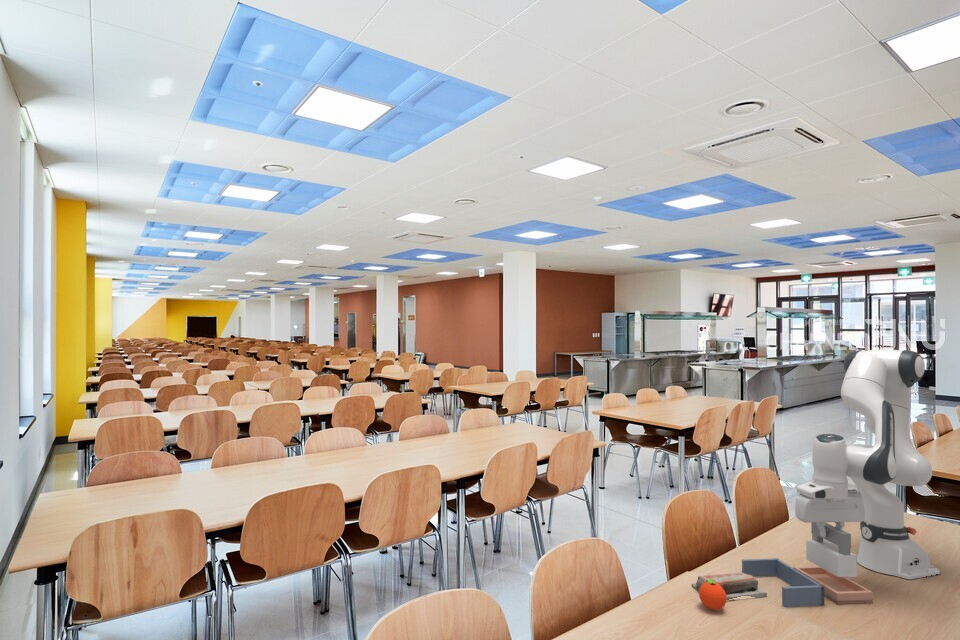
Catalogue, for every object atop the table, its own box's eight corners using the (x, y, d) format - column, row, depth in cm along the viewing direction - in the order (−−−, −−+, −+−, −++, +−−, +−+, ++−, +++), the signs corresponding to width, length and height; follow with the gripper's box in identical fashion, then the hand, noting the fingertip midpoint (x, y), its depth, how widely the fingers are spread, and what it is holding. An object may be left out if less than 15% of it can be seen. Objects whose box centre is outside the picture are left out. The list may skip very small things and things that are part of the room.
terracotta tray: (825, 575, 162) (825, 565, 162) (873, 602, 145) (872, 592, 145) (793, 576, 160) (793, 567, 161) (837, 604, 144) (837, 593, 144)
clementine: (693, 599, 145) (693, 574, 145) (718, 600, 145) (718, 574, 145) (705, 614, 137) (705, 587, 137) (731, 615, 137) (731, 588, 137)
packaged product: (713, 587, 144) (691, 571, 153) (713, 604, 143) (691, 588, 153) (767, 581, 148) (742, 566, 157) (767, 598, 147) (742, 582, 157)
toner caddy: (824, 558, 159) (823, 519, 160) (856, 576, 147) (856, 533, 148) (806, 559, 158) (806, 519, 159) (837, 576, 146) (837, 534, 147)
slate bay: (777, 574, 162) (777, 558, 162) (824, 605, 143) (824, 586, 143) (742, 575, 161) (741, 559, 161) (784, 607, 142) (784, 588, 142)
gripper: (852, 486, 158) (853, 532, 157) (791, 486, 156) (791, 533, 155) (870, 492, 152) (871, 539, 151) (807, 492, 150) (807, 541, 149)
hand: (830, 536), depth 153 cm, fingers closed on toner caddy, 2 cm apart
